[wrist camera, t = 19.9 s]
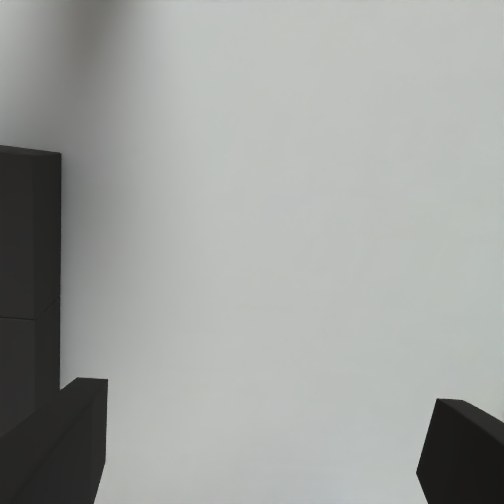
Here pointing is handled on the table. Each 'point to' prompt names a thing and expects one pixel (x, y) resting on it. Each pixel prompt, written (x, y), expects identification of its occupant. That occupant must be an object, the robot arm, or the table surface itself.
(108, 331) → the table surface
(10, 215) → the black u-shaped block
